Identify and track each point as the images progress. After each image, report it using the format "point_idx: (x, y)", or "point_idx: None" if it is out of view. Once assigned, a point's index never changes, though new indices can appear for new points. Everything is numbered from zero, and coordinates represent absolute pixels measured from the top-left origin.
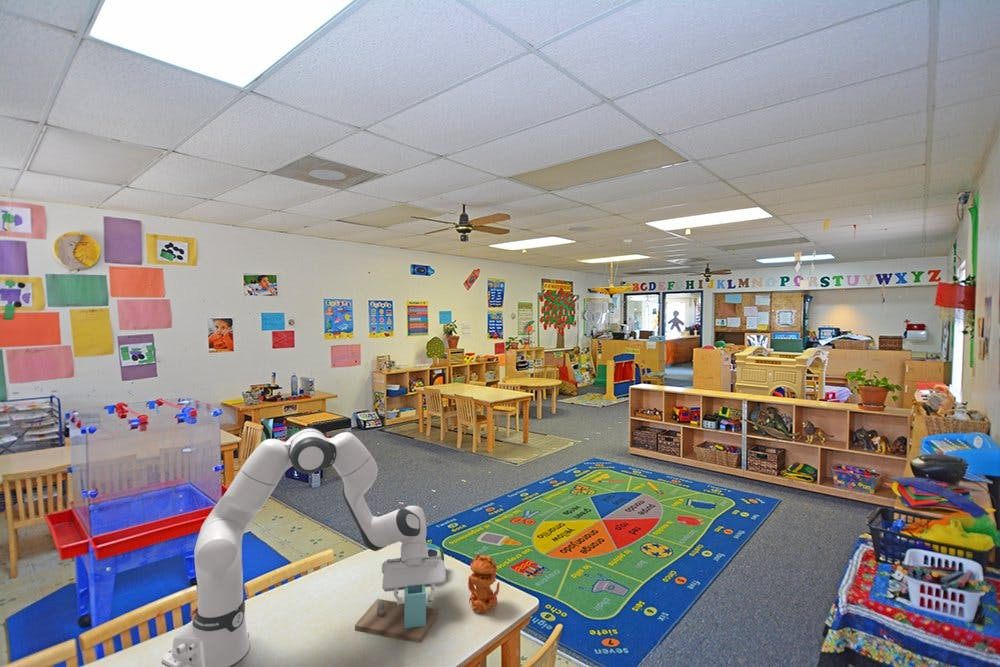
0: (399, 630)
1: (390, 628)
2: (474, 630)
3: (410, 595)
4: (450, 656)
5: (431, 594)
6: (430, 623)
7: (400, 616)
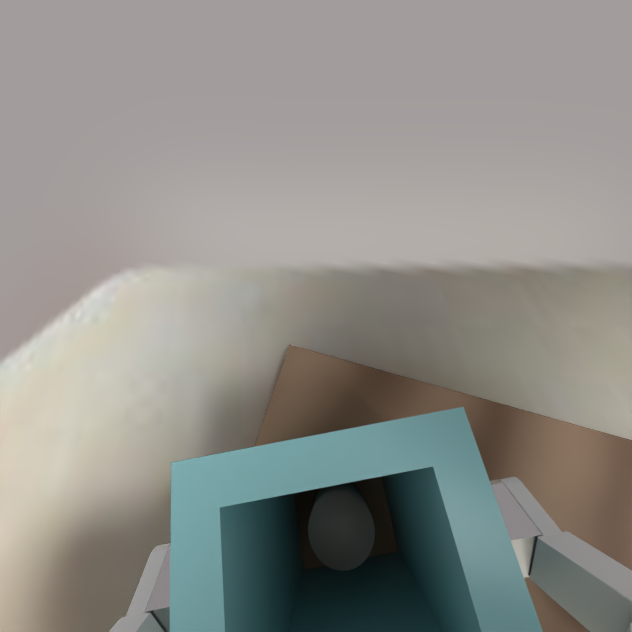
0: (414, 405)
1: (473, 425)
2: (31, 436)
3: (386, 424)
4: (170, 277)
5: (140, 608)
6: None
7: None
